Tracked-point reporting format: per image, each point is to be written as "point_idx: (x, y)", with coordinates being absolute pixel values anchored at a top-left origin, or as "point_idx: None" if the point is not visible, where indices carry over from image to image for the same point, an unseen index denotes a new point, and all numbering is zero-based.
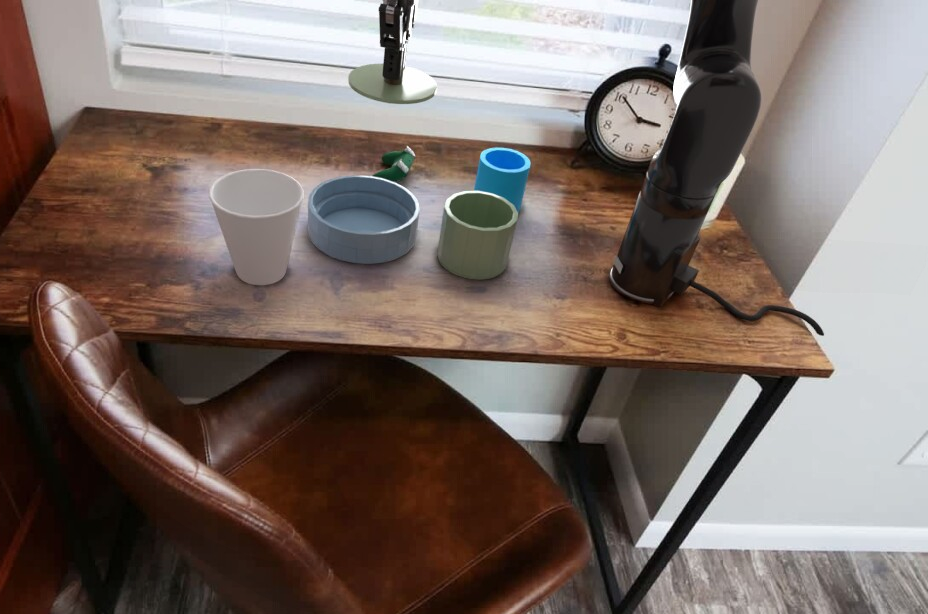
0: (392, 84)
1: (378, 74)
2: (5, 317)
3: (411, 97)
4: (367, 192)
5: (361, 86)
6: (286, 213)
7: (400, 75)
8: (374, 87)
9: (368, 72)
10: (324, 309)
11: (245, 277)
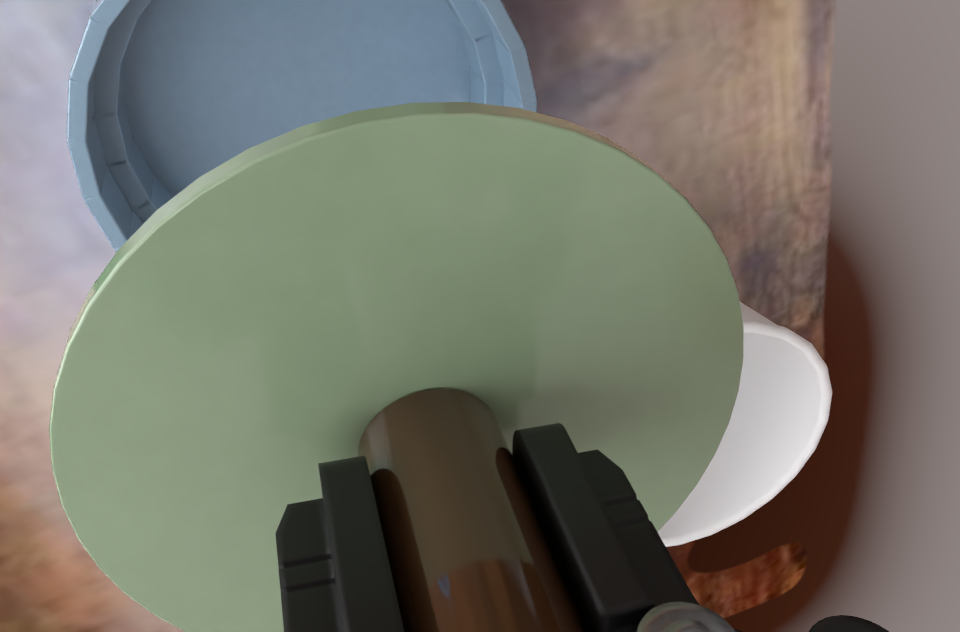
0: (501, 426)
1: None
2: (799, 547)
3: (669, 250)
4: (115, 168)
5: None
6: (793, 332)
7: (538, 437)
8: None
9: None
10: (719, 72)
11: None
